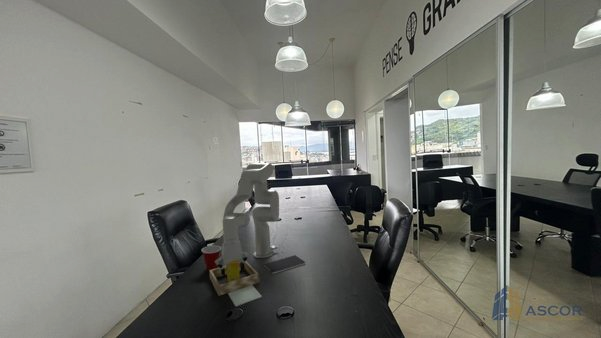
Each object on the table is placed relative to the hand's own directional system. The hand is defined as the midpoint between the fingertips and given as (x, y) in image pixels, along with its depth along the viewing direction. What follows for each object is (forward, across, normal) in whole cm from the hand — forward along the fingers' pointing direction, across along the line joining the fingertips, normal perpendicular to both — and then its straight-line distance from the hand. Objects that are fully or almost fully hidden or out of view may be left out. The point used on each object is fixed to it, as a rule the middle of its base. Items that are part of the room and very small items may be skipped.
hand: (233, 272), depth 126 cm
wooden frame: (+4, 0, 0) cm, 4 cm away
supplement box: (+4, 0, 0) cm, 4 cm away
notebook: (+5, -30, 0) cm, 31 cm away
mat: (+4, 0, +17) cm, 17 cm away
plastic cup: (+4, +6, -22) cm, 23 cm away
